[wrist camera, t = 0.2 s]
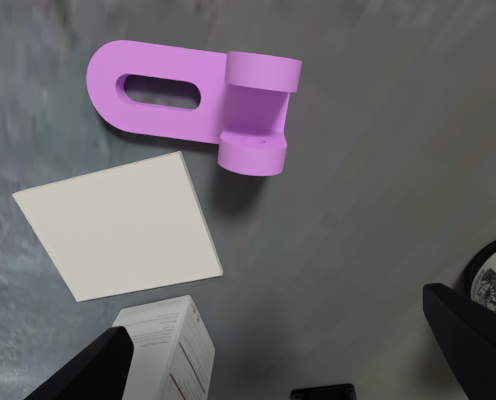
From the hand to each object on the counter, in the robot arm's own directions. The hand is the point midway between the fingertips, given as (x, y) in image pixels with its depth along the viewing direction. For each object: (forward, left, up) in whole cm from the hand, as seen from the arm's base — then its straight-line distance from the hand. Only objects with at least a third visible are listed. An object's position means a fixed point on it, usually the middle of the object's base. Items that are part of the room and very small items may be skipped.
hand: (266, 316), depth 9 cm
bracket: (+6, +4, -15) cm, 17 cm away
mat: (-3, +13, -15) cm, 19 cm away
